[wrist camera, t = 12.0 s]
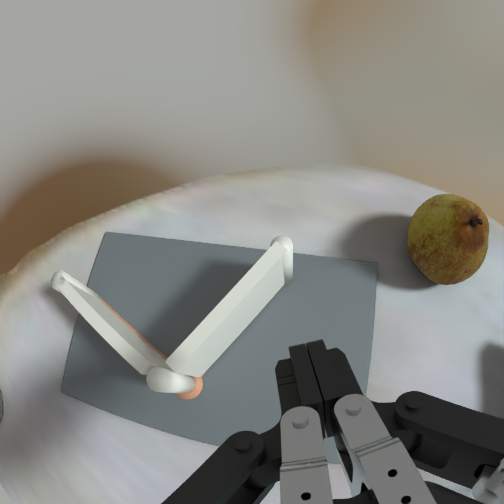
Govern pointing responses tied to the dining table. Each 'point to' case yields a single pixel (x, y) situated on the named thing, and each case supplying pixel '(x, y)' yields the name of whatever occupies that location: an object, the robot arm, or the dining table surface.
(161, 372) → the fence fixed
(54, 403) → the dining table surface
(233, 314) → the fence gate
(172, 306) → the card
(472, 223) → the fruit
